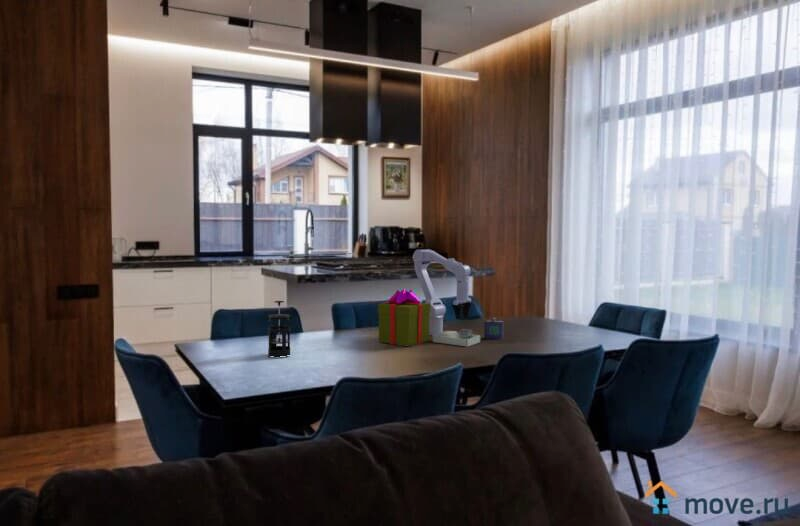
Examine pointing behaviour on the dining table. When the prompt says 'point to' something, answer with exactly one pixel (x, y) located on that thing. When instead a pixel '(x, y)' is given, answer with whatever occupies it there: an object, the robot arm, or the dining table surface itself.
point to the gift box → (403, 319)
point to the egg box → (449, 334)
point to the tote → (457, 340)
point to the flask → (493, 329)
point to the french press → (273, 330)
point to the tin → (465, 334)
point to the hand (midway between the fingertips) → (462, 318)
